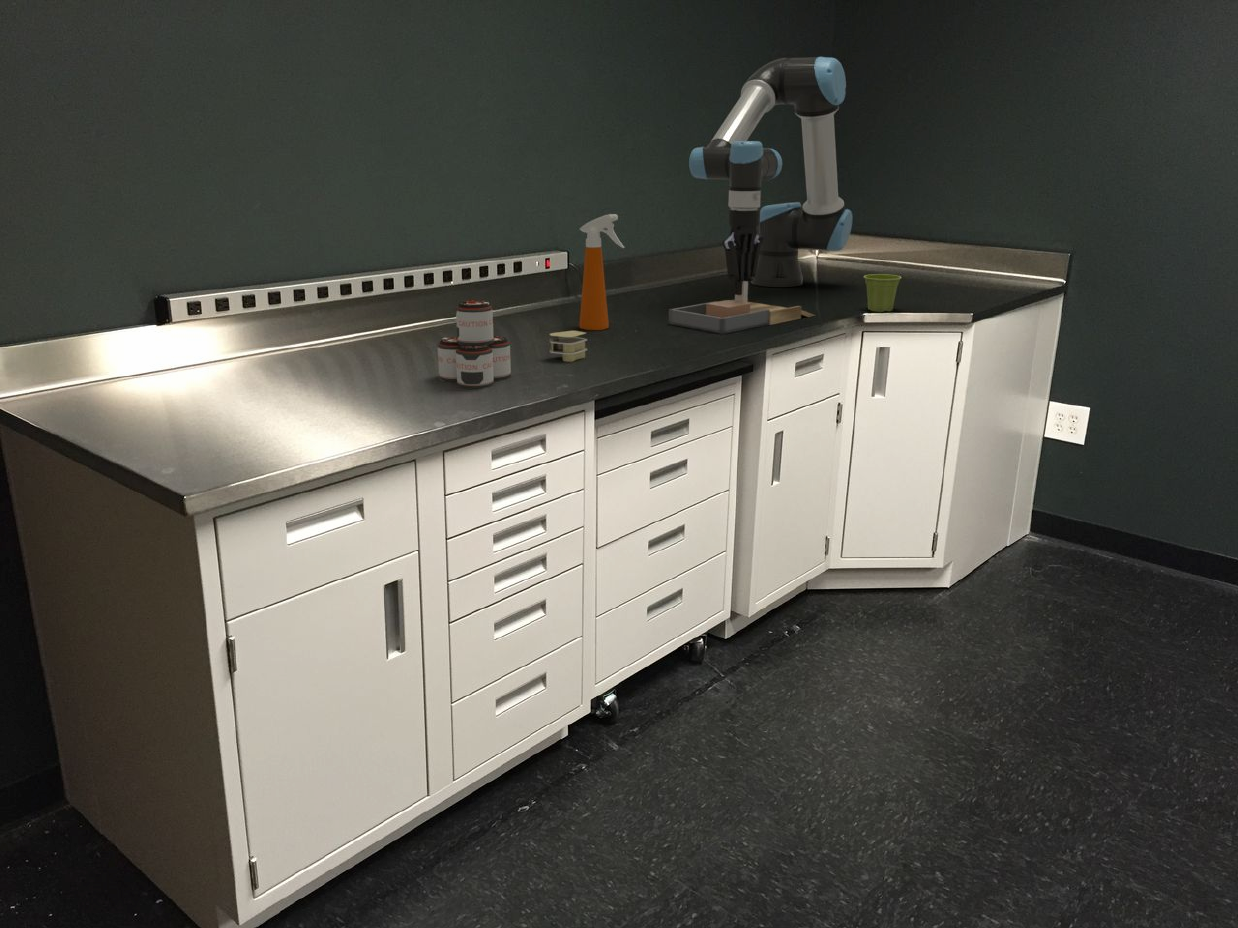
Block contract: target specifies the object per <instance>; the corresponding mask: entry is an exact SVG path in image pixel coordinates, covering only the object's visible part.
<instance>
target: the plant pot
mask: <svg viewBox="0 0 1238 928" xmlns="http://www.w3.org/2000/svg"><path fill="white" fill-rule="evenodd" d="M863 279H864V280H865V281H864V282H865V285H866V296H867V297H866V299H867V310H868V311H871V312H879V313H883V312H891V311H893V309H894V304H895V298H896V294H897V289H898V286H899V284H900V280H901V279H902V276H900V275H896V274H887V273H877V274H876V273H874V274H865V275H864V276H863Z"/></svg>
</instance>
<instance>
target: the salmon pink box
mask: <svg viewBox="0 0 1238 928" xmlns="http://www.w3.org/2000/svg"><path fill="white" fill-rule="evenodd" d="M732 300H733V299H730V300H729V299H727V300H726V299H725V300H720V301H717V302H715V301H712V302H713V303H709V302H707V303H708V304H706V315H709V316H714V317H720V318H724V317H730V316H735V315H740V314H745V313H750V303H745V302H738V301H732Z"/></svg>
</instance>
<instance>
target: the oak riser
mask: <svg viewBox="0 0 1238 928" xmlns="http://www.w3.org/2000/svg"><path fill="white" fill-rule="evenodd" d="M731 300H732V301H735V298H734V299H731ZM747 303H750V312H756V311H761V310H766V309H767V310H770V311H769V325H776V324H781V323H785V322H790V321H795V320H799V319H800V320H801V319H802V317H807V318H811V317H814V316H817V315H816V314H813V313H810V312H809V311H806V310H802V309H803V307H802V306H801V305H796V306H790V307H785V306H779V305H772V304H765V303H760V302H753V301H749V297H747ZM769 325H768V326H769Z"/></svg>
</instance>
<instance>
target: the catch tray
mask: <svg viewBox="0 0 1238 928" xmlns="http://www.w3.org/2000/svg"><path fill="white" fill-rule="evenodd" d="M713 302H718V301H710V302H704V303H698V304H693V305H687V306H682V307H676V308H670V309H668V324H669V325H672V326H676V327H678V326H679V327H683V328H688V329H693V330H697V331H698V330H699V331H704V332H710V333H714V334H720V335H724V334H725V335H726V334H730V333H733V332H734V333H735V332H739V331H743V330H748V329H754V328H758V327H759V328H760V327H762V326H769V311H770V310H767V309H766V310H761V311H756V312H750V313H745V314H740V315H735V316H730V317H724V318H720V317H714V316H709V315H706V304H708V303H713Z"/></svg>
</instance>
